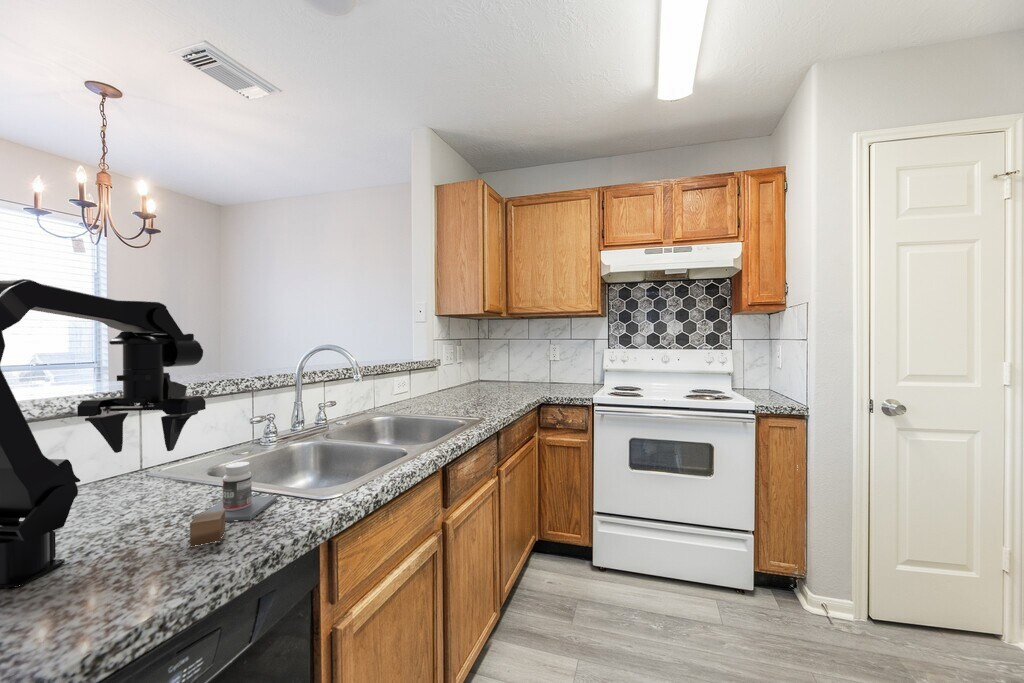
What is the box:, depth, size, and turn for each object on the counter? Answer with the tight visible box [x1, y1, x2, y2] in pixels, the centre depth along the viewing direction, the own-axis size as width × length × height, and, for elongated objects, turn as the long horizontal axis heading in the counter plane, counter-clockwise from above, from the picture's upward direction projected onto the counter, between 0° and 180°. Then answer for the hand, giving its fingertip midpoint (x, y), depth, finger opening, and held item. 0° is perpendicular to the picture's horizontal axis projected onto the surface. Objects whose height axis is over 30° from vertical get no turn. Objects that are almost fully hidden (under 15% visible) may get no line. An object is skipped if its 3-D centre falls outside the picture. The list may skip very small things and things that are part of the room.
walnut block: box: [189, 510, 226, 547], centre depth 69 cm, size 4×4×4 cm
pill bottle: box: [222, 461, 253, 511], centre depth 81 cm, size 5×5×8 cm
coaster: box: [202, 495, 278, 522], centre depth 81 cm, size 10×10×1 cm
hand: (144, 451), depth 76 cm, fingers open, 9 cm apart
